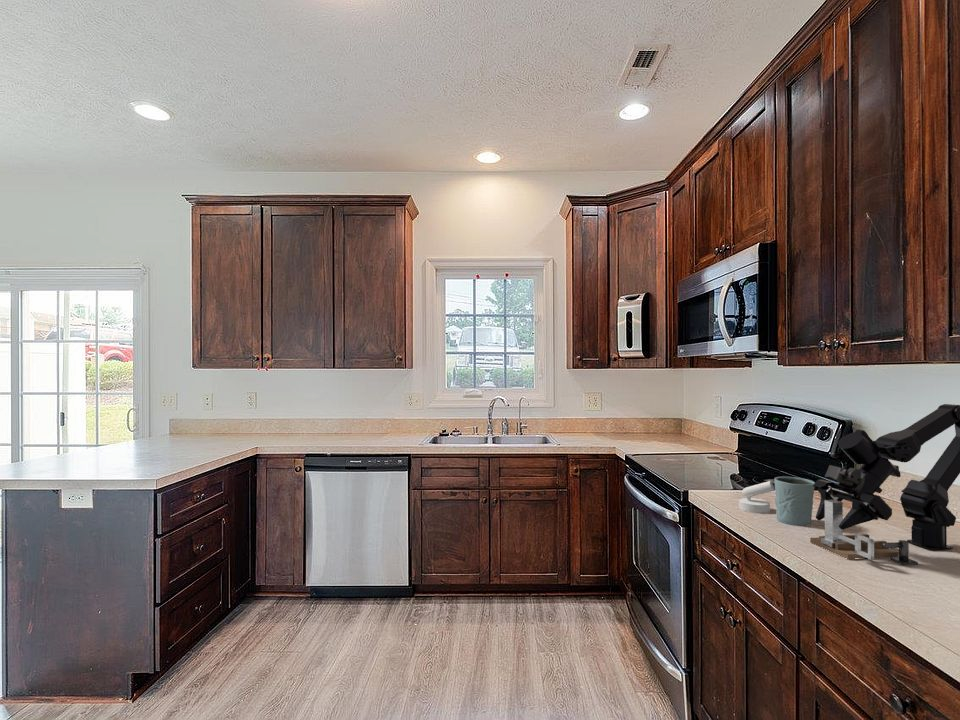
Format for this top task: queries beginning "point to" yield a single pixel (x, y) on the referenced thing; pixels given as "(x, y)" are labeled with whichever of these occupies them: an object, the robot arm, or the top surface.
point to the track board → (849, 549)
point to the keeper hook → (901, 552)
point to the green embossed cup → (794, 500)
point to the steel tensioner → (836, 534)
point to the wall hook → (753, 503)
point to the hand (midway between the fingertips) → (828, 523)
